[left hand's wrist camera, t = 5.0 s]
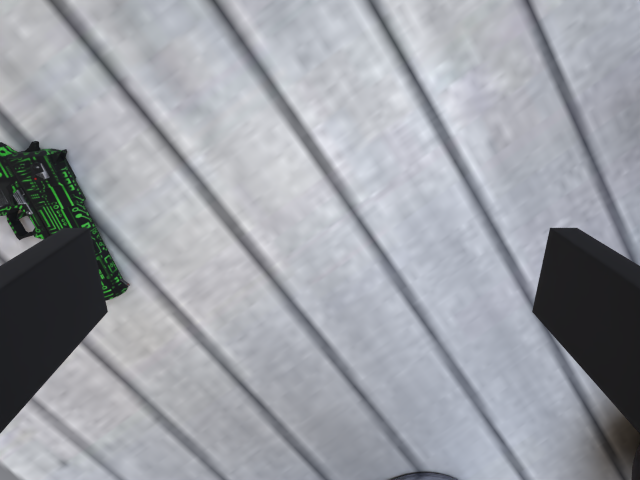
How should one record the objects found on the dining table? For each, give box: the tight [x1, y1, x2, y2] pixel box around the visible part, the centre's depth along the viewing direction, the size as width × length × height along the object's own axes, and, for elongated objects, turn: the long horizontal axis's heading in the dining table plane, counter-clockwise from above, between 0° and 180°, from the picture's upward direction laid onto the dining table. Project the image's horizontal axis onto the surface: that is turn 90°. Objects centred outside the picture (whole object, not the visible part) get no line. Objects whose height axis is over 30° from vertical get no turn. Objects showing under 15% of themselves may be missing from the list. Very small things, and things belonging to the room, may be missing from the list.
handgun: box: [0, 141, 130, 301], centre depth 40 cm, size 16×3×15 cm
